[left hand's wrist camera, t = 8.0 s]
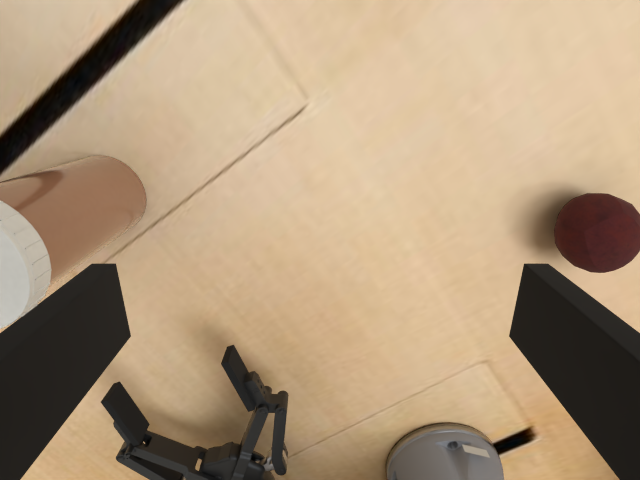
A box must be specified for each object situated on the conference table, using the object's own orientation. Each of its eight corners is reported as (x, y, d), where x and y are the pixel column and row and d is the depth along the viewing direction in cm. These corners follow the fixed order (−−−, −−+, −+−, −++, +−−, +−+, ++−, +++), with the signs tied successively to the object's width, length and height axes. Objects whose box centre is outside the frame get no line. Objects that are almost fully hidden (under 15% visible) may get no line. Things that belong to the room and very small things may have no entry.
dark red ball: (555, 265, 43) (598, 297, 36) (527, 209, 41) (568, 232, 34) (621, 230, 41) (678, 257, 35) (596, 170, 39) (652, 186, 33)
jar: (160, 188, 40) (49, 256, 23) (123, 245, 42) (-3, 344, 26) (88, 138, 38) (-87, 174, 22) (53, 201, 40) (-129, 276, 24)
